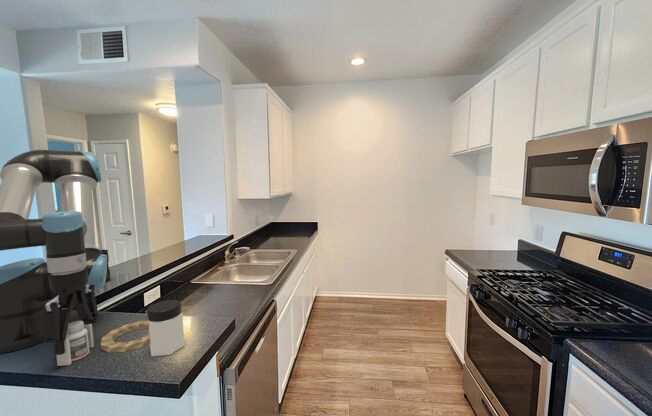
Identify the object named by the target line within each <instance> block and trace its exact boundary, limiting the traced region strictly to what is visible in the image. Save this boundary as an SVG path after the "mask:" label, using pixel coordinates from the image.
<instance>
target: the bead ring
mask: <svg viewBox="0 0 652 416" xmlns="http://www.w3.org/2000/svg"><path fill="white" fill-rule="evenodd" d="M141 329H143V330H144V329H149V327H148V320H140V321H139V320H138V321H136V322H131V323H128V324H124V325H122V326H119V327H117V328H115V329H112V330H110V331H109V332H108V333H107V334H106V335H104V336H102V337H101V342H100V349H101V350H102V351H103V352H107V353H109V354H114V353H126V352H129V351H132V350H137V349H140V348H143V347H145V346H147V345H150V340H149V334H147V335H145V336H142V337H141V338H137V339H134V340H130V341H125V342H124V341H122V342H116V341H114V340H116V339H117V338H118V337H121V336H122V335H124V334H126V333H129V332H132V331H136V330H141Z"/></svg>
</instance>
